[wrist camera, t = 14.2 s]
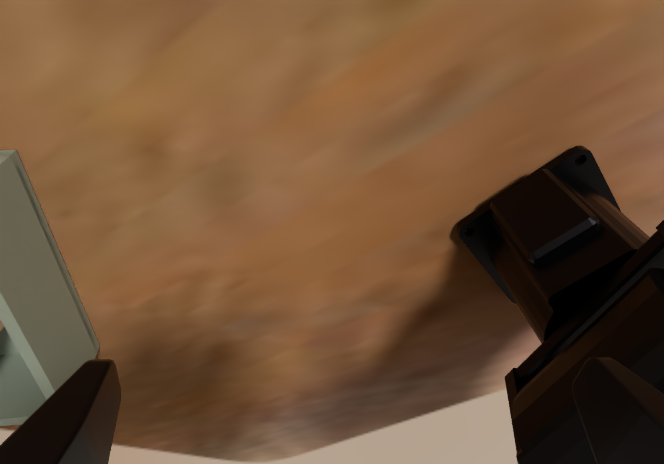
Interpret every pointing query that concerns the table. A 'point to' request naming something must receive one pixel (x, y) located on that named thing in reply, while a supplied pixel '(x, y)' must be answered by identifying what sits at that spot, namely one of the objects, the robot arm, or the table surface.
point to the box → (34, 303)
